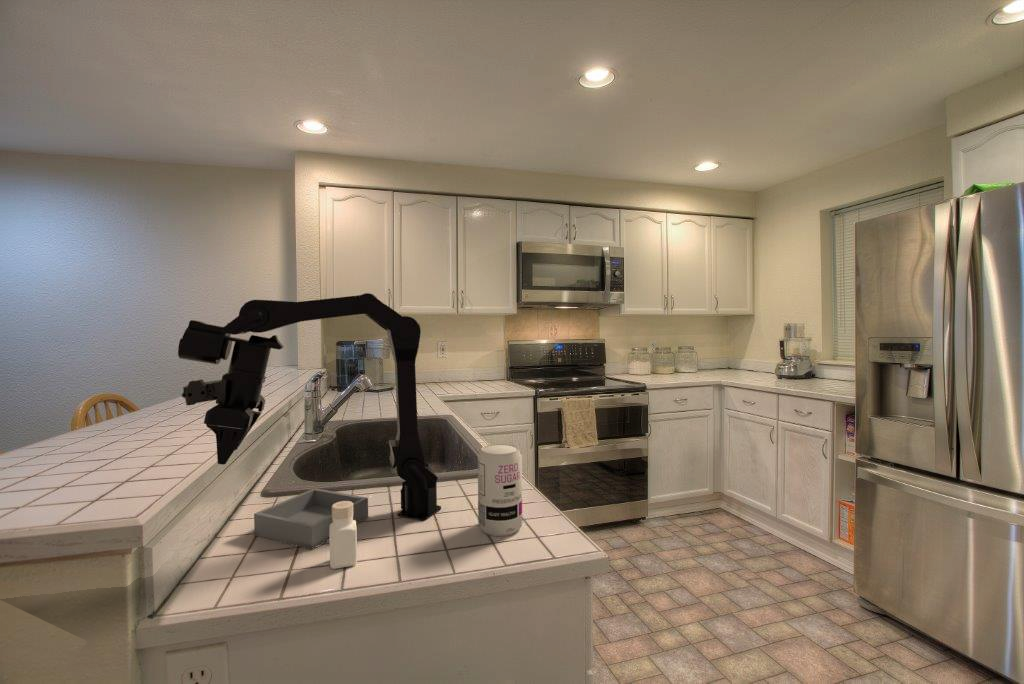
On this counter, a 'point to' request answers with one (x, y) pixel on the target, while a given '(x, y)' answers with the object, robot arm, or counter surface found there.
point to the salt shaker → (343, 536)
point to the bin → (305, 517)
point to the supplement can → (500, 489)
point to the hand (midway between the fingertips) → (227, 456)
